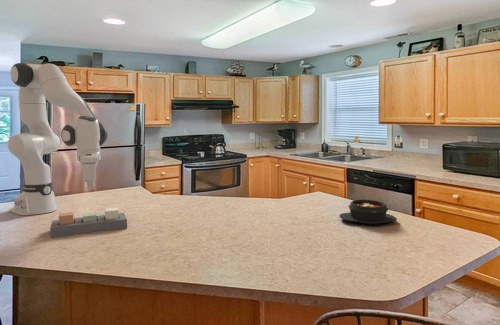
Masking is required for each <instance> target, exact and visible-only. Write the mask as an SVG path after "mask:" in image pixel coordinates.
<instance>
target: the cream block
mask: <svg viewBox="0 0 500 325" xmlns="http://www.w3.org/2000/svg"><path fill="white" fill-rule="evenodd" d="M118 213H119V209H118V207H109V208H108V207H107V208H104V215H105V220H110V219H119V215H118Z"/></svg>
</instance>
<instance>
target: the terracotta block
mask: <svg viewBox="0 0 500 325" xmlns="http://www.w3.org/2000/svg"><path fill="white" fill-rule="evenodd" d="M74 218H75V217H74V211H71V212H68V211H67V212H59V214H58V220H59V225H66V224H74Z"/></svg>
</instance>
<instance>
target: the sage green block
mask: <svg viewBox="0 0 500 325" xmlns="http://www.w3.org/2000/svg"><path fill="white" fill-rule="evenodd" d="M96 216H97V212H96V211H95V212H87V213H82V217H83V223H84V222H93V221H97V217H96Z"/></svg>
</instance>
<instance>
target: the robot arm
mask: <svg viewBox="0 0 500 325" xmlns="http://www.w3.org/2000/svg"><path fill="white" fill-rule="evenodd" d="M10 78H11V80H12V82H13V84H14V85H16V86H18V87H19V89H18V109H19V119H20V121H21V122H22V123H24V124H25V125H26V126H27V127H28V129H29V132H23V133H22V132H21V133H18V134H14V135H12V136H10V137H9V139H8V141H7V149H8V151H9V153H10V154H12V155H13V156H14V157H16V158H17V160H19V162H20V164H21V166H22V169H23V175H24V184H22V185H21V186H22V188H23V189H22V192H21V193H20V194H19V195H18V196H17V197H16V198H15V199H14V204H13V205H14V206H13V207H11V208H9V209H8V212H10V213H13V214H15V215H19V216H29V215H31V216H33V215H34V216H35V215H42V214H47V213H51V212H55V211H57V210H58V208H59V205H58V204H57V201H56V196H55V192H54V191H53V189H54V188H53V185H54V184H53V182H52V177H51V176H52V175H51V174H52V173H51V167H50V165H49V164H47V163H46V162H44V160H43V158H42V156H41V155H48V154H52V153H55V152H57V151H58V150H59V149H60V147H61V141H62V142H63V143H64V145H65V146H67V147H76V161H78V162H79V164H80V165H81V167H82V174H83V180H84V182H85V183H86V184H87V185H86V186H87V190H88V191H91V190H93V182H95V180H96V175H97V174H96V171H97V165H98V162H99V161H101V160H102V159H101V158H102V157H101V156H102V155H101V146H103V145H104V144H105V142H106V141H107V139H108V131H107V130H106V128H105V126H104V125H103V124H102V123H101V122H100V121H99V120H98V118H97V117H96V115H95V114H94V111H93V110H92V109H91V108H90V106H89V104H88V103H87V102H86V100H85V99H84V98H83V96H81V95H80V94H78V93H77V92H76V91H74V89H73V88H72V87H71V85H70V84H69V81H68V80H67V78H66V75H65V72H64V70H63V69H62V68H60V67H58V66H57V65H56V64H53V63H42V64H41V63H26V62H18V63H17V62H16V63H15V64H13V65H12V67H11V69H10ZM46 100H47V102H48V103H50V104H51V105H53V106H56V107H58V108H59V107H60V108H64V109H66V110H70V111H72V112H74V113H76V114H77V115H78V117H77V118H76V120H75V121H73V122H72V123H70V124H66V125H64V126H63V128H62V129H61V132H60V137H61V140H60V137H59V136H58V135H57V134H56V133H54V131H53V130H52V128H51V126H50V123H49V121H48V111H47V102H46Z"/></svg>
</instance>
